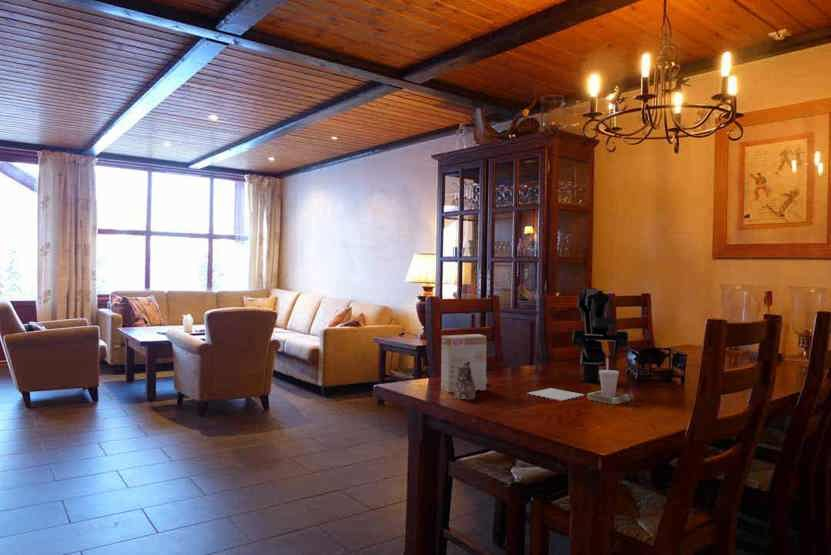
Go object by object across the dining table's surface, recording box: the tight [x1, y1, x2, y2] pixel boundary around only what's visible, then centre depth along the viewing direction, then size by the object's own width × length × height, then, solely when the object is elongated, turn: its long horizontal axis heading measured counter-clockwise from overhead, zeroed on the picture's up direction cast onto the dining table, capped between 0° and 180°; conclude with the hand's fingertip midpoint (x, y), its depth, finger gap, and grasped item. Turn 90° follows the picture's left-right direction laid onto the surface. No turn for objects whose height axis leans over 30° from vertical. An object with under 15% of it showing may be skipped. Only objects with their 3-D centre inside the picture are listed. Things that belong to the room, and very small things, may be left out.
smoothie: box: [599, 357, 620, 398], centre depth 198 cm, size 6×6×14 cm
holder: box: [586, 389, 631, 406], centre depth 198 cm, size 10×10×2 cm
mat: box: [526, 387, 586, 402], centre depth 205 cm, size 14×14×1 cm
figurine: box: [453, 361, 476, 401], centre depth 199 cm, size 7×7×12 cm
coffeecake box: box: [440, 333, 487, 393], centre depth 211 cm, size 15×7×20 cm, turn 110°
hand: (601, 357), depth 206 cm, fingers open, 9 cm apart
